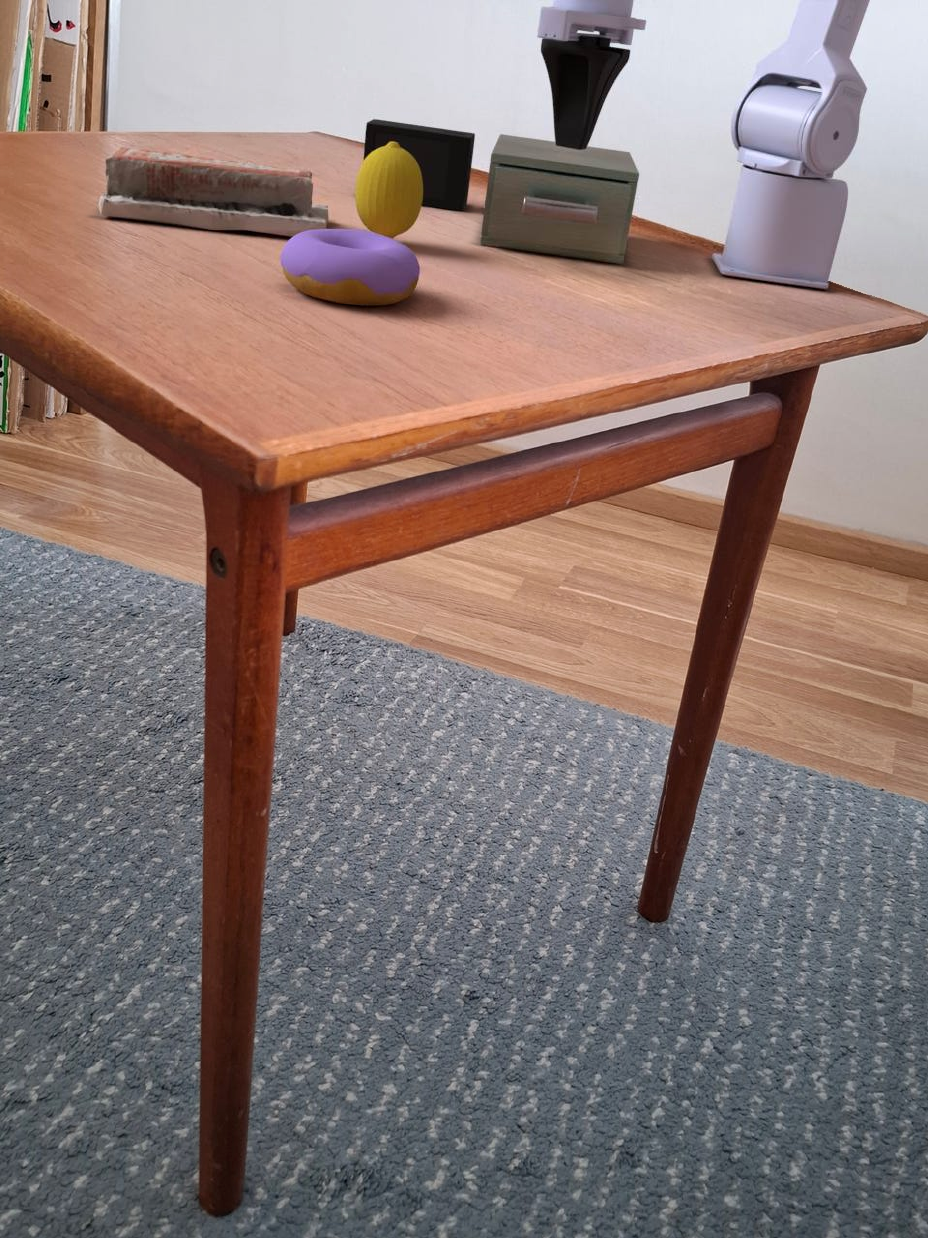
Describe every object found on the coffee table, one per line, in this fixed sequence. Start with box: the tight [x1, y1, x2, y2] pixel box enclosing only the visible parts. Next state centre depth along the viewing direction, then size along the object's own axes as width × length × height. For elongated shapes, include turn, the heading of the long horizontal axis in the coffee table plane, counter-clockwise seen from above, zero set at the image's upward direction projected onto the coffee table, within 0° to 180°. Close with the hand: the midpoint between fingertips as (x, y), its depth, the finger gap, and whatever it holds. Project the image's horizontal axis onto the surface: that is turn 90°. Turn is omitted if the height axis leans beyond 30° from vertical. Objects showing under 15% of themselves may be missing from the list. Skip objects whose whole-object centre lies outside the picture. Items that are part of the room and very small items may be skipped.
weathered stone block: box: [97, 146, 329, 238], centre depth 99 cm, size 18×5×10 cm
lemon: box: [354, 142, 423, 239], centre depth 98 cm, size 6×6×8 cm
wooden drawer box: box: [479, 133, 640, 265], centre depth 109 cm, size 16×13×8 cm
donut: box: [280, 228, 421, 306], centre depth 82 cm, size 10×9×5 cm
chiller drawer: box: [488, 165, 631, 256], centre depth 106 cm, size 19×11×6 cm, turn 176°
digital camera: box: [362, 118, 476, 212], centre depth 119 cm, size 10×5×7 cm, turn 84°
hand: (570, 147), depth 91 cm, fingers closed
